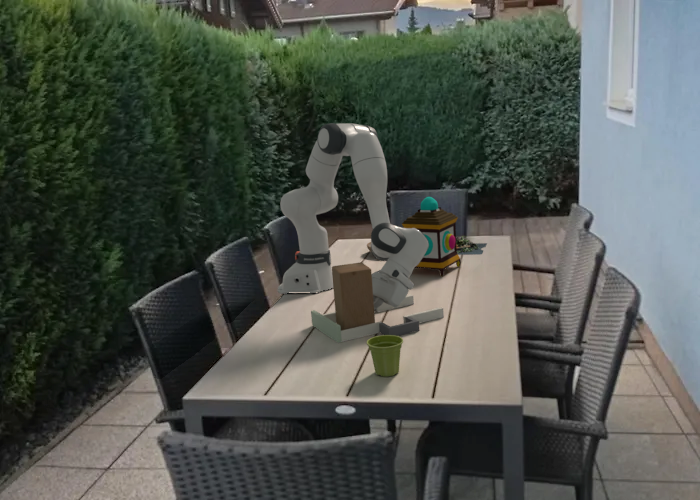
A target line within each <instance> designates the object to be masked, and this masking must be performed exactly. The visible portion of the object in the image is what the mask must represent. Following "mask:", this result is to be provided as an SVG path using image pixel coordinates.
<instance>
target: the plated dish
mask: <svg viewBox="0 0 700 500" xmlns="http://www.w3.org/2000/svg"><path fill="white" fill-rule="evenodd" d="M467 237H468V236H467V235H462V236H461V237H460V236H457V235H456V248H457V254H458V256H461V255H463V256H466V255H467V256H468V255H471V256H472V255H473V256H474V255H479V256H481V255H483V253H484V250H482V249H484V248H486V247H487V244H488V243H485V242H484V243H483V242H479V243H475V242H473V241H471V240H470V239H467Z"/></svg>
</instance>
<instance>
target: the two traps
mask: <svg viewBox="0 0 700 500" xmlns="http://www.w3.org/2000/svg"><path fill="white" fill-rule="evenodd" d="M375 312H376V310H375V311H374V313H375ZM376 313H377V312H376ZM405 321H406V323H404V322H403V323H399V324H395V325H391V326H390V325H388V324H386V323H384V322H383V321H381V322H382V323H379V330H380V333H379V334H381V335H394V336H399V337H401V336H404V335H407V334H411V333H415V332H419V331H420V323H419V321H417V320H415V319H413V318H411V317H409V316H408V317H405Z"/></svg>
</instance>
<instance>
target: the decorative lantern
mask: <svg viewBox="0 0 700 500" xmlns="http://www.w3.org/2000/svg"><path fill="white" fill-rule="evenodd" d="M458 218H459V216H457V215H456V214H454V213H453V212H448V211H446V210H444V209H443V208H442V207H439V204H438V201H437V200H436V199H435V198H433V197H432V196H425V198H423V200H422V201H421V202H420V208H419V209H417V211H416V212H414V214H413V215H411V216H408V217H406V219H404V220H403V222H402V223H401V225H402V228H416V229H418V230H419V231H421V232H422V233H423V234H424V235H425V237H426V238H427V240H428V244H429V246H428V249H427V251H426V253H425V255H424V256H423V258H422V260H421V261H420V262H419V264H418V265H417V266H416V267H415V268H414V269H420V270H421V269H423V270H434V271H435V270H436V271H438V272H439V274H440V277H444V276H445V275H444V274H445V269H447V268H448V267H451V266H452V265H455V264H456V267H458V268H459V267H460V266H461V263H462V262H461V257H460V255H458V254H457V248H456V236H457V231H456V229H457V228H456V226H457V225H456V224H457V220H458Z"/></svg>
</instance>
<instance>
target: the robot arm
mask: <svg viewBox="0 0 700 500" xmlns="http://www.w3.org/2000/svg"><path fill="white" fill-rule="evenodd" d="M316 139H317V140H316V141H315V142H314V145H313V148H312V150H311V153H310V155H309V158H308V161H307V164H306V167H305V173H306V176H307V177H308V179H309V183H308V185H307V186H304V187H301V188H295V189H293V190H290V191H288V192H286V193H284V194H283V195H282V196H281V198H280V203H279V204H280V205H279V206H280V210H281V212H282V214H283V215H284V216H285V217H286V218H288V219H289V220H290V222H291V223H292V224H293V226H294V227H295V230H296V233H297V239H298V246H299V251H296V252H295V254H294V261H295V263H293V264H292V265H291V266H290V267H289V268H288V269H287V270H286V271H285V272H284V274H283V277H282V283H281V284H280V285H278V286H277V293H278V294H282V295H286V294H287V293H289V292H310V293H316V292H319V293H321V292H320V291H322V292H324V291H323V290H325V291H329V290H331V288H332V289H333V277H332V266H331V265H332V255H331V250H330V249H329V239H328V231H327V229H326V228H325V227H324V226H322V225H320V224H319V221H318V219H317V215H321V214H325V213H327V212H329V211H331V210H333V209H334V208H336V206H337V205H338V203H339V194H338V191H337V190H336V188H335V186H334V185H335V179H336V176H337V173H338V171H339V167H340V164H341V163H342V160H343V157H350V161H351V166H352V170H353V175H354V178H355V180H356V183H357V185H358V187H359V190H360V191H361V194H362V196H363V199H364V201H365V203H366V206H367V209H368V213H369V214H368V215H369V217H370V218H369V219H370V223H371V227H372V228H371V229H372V230H371V233H370V234H371V235H370V242H371V251H372V252H371V251H370V252H371V253H372V255H373V257H375V258H376V259H378V261H382V262H385V263H384V264H383V266H382V267H381V269H379V270H376V271H375V272H371V273H372V287H373V301H374V311H375V310H376V308H378V307H379V306H381V305H382V304H383V302H384V303H387V304H389V305H391V306H393V307H397V306H399V305H400V304H401V302H402V301H403V300H404V298H405V297H406V296H408V295H409V294H408V293H409V290H412V289H413V287H414V285H415V284H414V283H413V281H412V279H410V277H411V275H412V273H413V270H414V269H416V268H415V267H416V266H417V265H418V264H419V262H420V261H421V260H422V258H423V256H424V255H425V253H426V251H427V249H428V246H429V244H428V240H427V238H426V237H425V235H424V234H423V233H422V232H421V231H419V230H418V229H416V228H404V227H403V226H402V227H401V226H397V225H394V224H392V223H391V222H390V217H389V212H388V211H389V210H388V207H387V188H388V169H387V168H388V167H387V162H386V158H385V154H384V152H383V151H384V150H383V147H382V145H381V143H380V140H379V136H378V133H377V130H376V129H375V128H374V127H371V126H370V125H367V124H357V123H351V122H349V123H346V122H344V123H335V122H331V123H327V124H323V125H322V126H321V127H320V129H319V131H318V134H317V137H316ZM328 289H329V290H328ZM316 294H317V293H316ZM287 295H288V294H287Z"/></svg>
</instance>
